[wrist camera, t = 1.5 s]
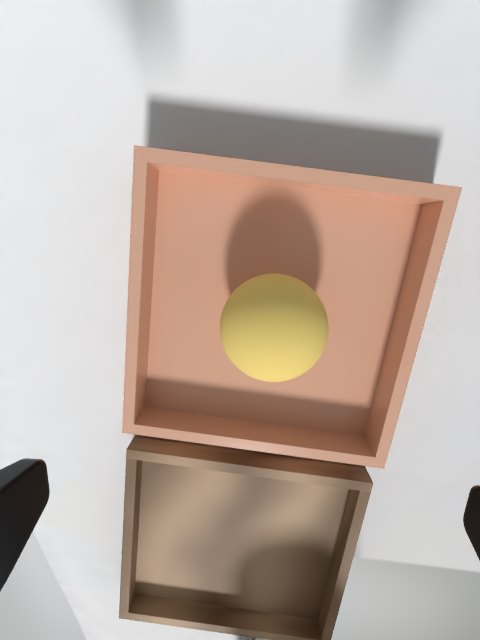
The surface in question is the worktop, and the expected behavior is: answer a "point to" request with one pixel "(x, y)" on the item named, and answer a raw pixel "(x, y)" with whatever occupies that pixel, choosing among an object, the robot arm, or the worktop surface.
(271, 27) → the worktop surface
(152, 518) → the tray
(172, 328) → the dish
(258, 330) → the ball
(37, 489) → the robot arm
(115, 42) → the worktop surface
